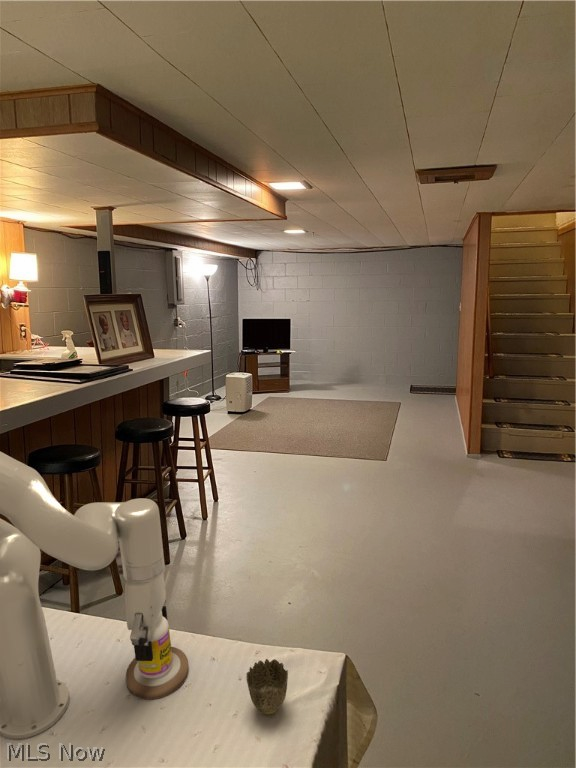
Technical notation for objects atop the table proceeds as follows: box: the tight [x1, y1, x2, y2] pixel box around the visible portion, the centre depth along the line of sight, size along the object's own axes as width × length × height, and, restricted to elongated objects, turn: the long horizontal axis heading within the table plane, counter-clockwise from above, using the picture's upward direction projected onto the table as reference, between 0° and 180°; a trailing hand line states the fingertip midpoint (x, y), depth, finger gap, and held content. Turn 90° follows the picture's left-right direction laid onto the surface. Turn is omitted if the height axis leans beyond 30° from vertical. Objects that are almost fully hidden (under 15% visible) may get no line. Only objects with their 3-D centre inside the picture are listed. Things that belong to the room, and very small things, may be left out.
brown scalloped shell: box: [245, 658, 289, 717], centre depth 101 cm, size 8×7×8 cm
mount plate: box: [125, 646, 190, 700], centre depth 111 cm, size 12×12×2 cm
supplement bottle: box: [138, 610, 173, 678], centre depth 109 cm, size 7×7×13 cm
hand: (152, 640), depth 109 cm, fingers open, 9 cm apart
